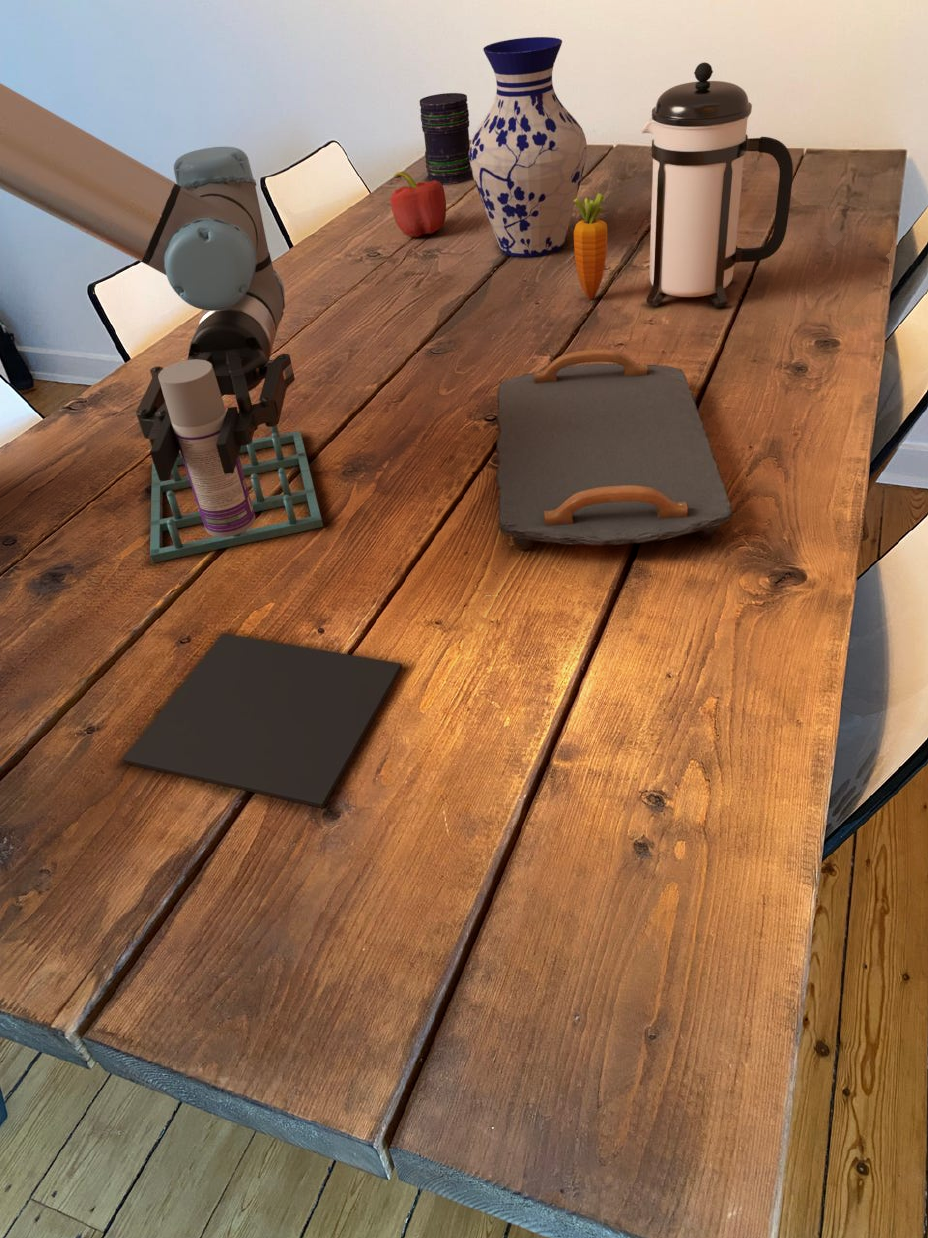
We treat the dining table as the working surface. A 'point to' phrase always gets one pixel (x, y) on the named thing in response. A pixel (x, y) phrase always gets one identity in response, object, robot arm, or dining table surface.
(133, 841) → the dining table surface
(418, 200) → the vegetable
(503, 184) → the vase
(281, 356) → the robot arm
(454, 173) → the storage jar
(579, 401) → the serving tray
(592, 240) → the carrot
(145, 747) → the mat
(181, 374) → the container
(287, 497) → the dish rack
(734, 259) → the coffee press
